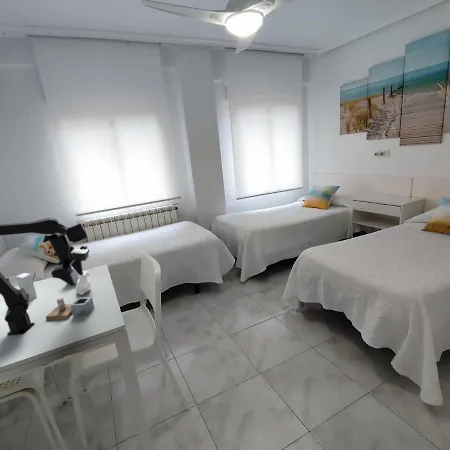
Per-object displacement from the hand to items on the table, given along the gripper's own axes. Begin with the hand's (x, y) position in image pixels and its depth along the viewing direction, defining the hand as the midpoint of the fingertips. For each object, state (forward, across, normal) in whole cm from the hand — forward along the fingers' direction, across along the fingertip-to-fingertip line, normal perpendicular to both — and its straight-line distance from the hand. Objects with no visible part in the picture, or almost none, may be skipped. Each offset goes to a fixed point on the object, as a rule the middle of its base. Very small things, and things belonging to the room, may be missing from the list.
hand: (77, 280), depth 114 cm
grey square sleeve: (+13, -4, +2) cm, 14 cm away
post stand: (+12, -2, +10) cm, 16 cm away
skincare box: (+10, +18, +34) cm, 40 cm away
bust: (+14, +17, +8) cm, 23 cm away
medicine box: (+13, +29, +18) cm, 37 cm away
